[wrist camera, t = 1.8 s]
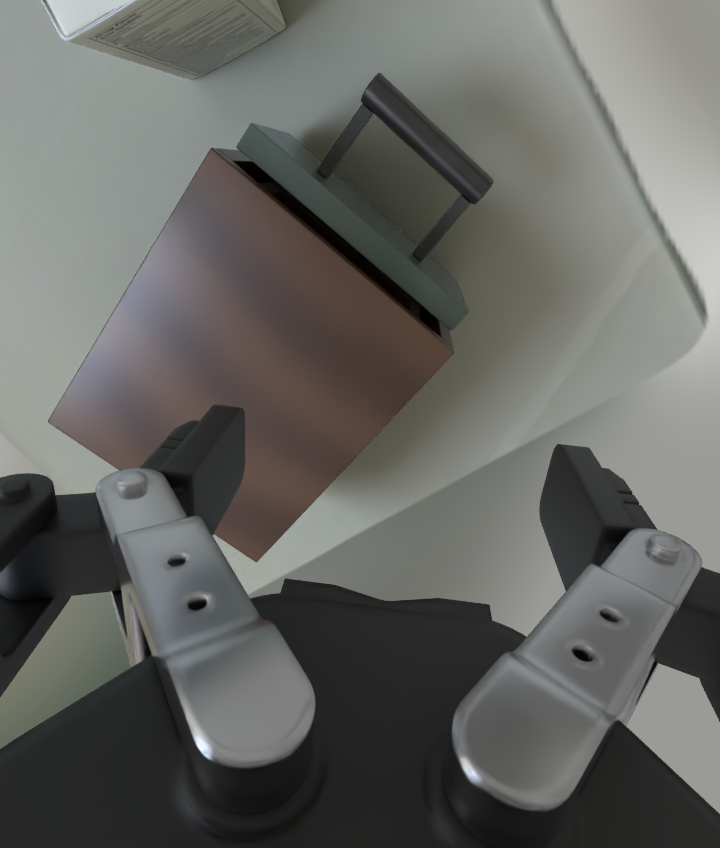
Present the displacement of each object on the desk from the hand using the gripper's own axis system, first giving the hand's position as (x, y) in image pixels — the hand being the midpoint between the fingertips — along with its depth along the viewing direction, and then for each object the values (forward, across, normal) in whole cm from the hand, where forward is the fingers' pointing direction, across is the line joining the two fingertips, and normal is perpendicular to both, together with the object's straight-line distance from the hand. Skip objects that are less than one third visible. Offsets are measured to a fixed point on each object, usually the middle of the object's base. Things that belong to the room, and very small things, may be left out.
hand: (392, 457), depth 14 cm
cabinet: (+22, +8, +4) cm, 23 cm away
